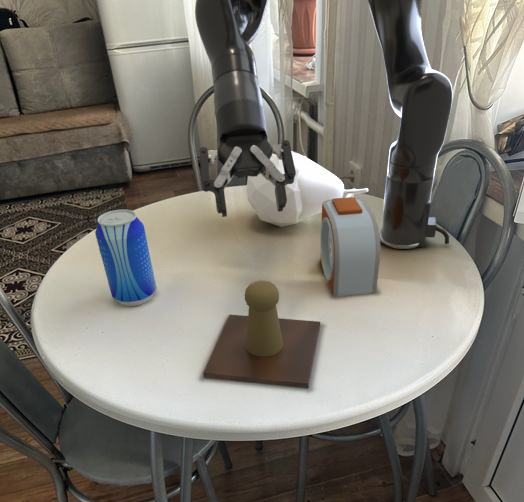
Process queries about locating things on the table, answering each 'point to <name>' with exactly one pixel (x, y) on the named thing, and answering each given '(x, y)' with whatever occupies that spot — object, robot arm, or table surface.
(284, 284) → the table surface
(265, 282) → the olive game pawn
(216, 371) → the place mat
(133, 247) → the beer can
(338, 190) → the pear ornament
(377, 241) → the alarm clock
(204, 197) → the table surface
